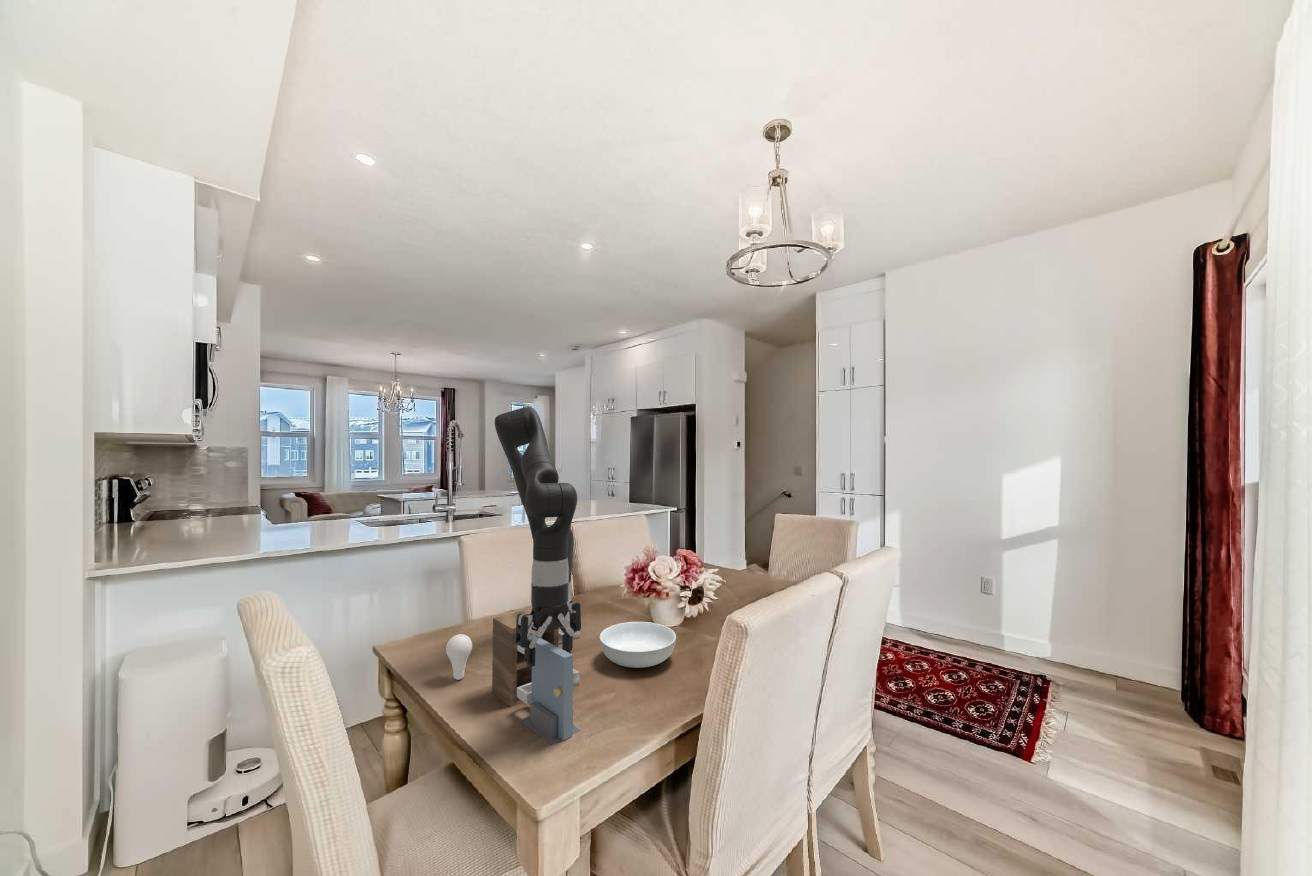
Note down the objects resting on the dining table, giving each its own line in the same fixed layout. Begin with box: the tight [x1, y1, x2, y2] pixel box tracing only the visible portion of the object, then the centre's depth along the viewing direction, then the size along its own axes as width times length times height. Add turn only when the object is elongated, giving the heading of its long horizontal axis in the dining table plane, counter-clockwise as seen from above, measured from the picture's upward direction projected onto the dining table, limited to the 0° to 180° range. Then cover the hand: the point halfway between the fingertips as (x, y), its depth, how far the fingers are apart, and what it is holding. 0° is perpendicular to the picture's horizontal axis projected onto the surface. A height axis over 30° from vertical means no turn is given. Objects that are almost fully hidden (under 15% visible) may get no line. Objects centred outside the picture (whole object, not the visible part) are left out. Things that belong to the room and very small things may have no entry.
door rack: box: [521, 702, 582, 746], centre depth 104 cm, size 7×11×5 cm, turn 45°
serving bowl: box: [599, 621, 677, 669], centre depth 139 cm, size 21×21×7 cm
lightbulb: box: [445, 633, 473, 681], centre depth 126 cm, size 6×6×11 cm
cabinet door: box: [517, 638, 574, 741], centre depth 106 cm, size 4×16×16 cm, turn 45°
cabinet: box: [491, 608, 581, 707], centre depth 120 cm, size 17×11×18 cm, turn 135°
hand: (549, 659), depth 105 cm, fingers open, 8 cm apart
